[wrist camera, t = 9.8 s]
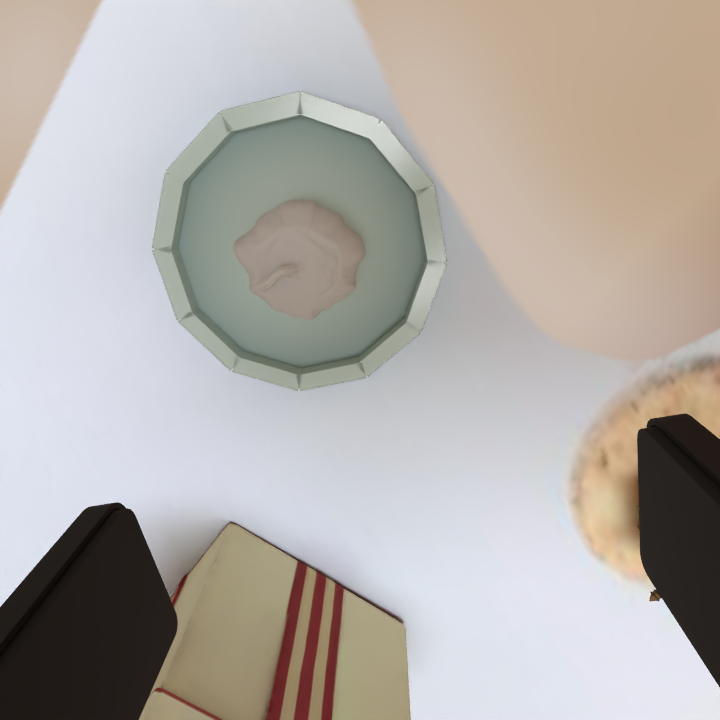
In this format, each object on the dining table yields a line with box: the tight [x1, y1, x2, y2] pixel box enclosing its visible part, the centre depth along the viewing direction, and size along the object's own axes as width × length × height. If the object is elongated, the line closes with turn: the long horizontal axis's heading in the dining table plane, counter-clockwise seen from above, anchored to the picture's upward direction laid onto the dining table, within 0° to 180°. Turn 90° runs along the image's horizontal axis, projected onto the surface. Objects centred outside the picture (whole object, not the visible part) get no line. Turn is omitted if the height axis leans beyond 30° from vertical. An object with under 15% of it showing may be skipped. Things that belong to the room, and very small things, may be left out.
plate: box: [152, 92, 447, 391], centre depth 26 cm, size 14×14×2 cm
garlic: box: [233, 200, 366, 320], centre depth 24 cm, size 6×5×5 cm
